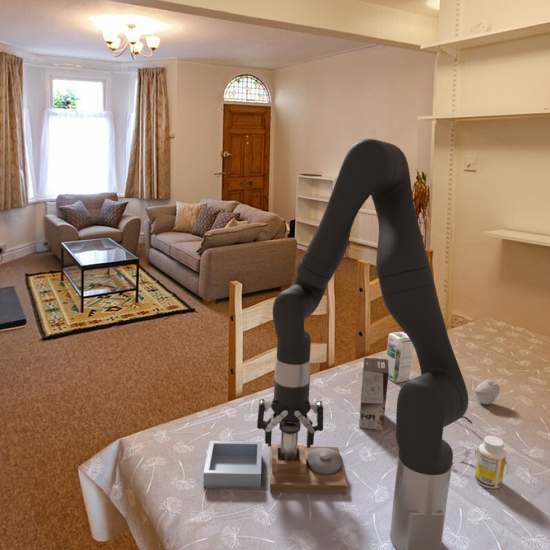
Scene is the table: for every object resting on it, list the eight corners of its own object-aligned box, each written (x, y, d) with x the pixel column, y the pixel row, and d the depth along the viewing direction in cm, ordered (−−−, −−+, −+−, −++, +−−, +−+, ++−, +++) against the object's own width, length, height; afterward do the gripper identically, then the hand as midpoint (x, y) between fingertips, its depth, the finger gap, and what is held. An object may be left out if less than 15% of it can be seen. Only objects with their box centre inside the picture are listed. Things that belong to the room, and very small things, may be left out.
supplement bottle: (493, 473, 117) (499, 433, 115) (506, 489, 112) (513, 447, 109) (469, 474, 117) (475, 433, 114) (481, 490, 111) (488, 448, 109)
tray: (260, 488, 110) (260, 474, 109) (203, 487, 110) (203, 472, 109) (261, 455, 121) (261, 441, 120) (209, 454, 121) (209, 440, 120)
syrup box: (383, 376, 165) (387, 333, 161) (398, 373, 167) (402, 330, 164) (394, 383, 160) (399, 339, 156) (410, 380, 162) (414, 337, 159)
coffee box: (383, 431, 133) (389, 373, 129) (358, 427, 135) (362, 370, 130) (383, 413, 142) (388, 358, 138) (359, 410, 143) (364, 356, 139)
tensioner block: (346, 493, 109) (347, 474, 108) (270, 492, 109) (270, 473, 108) (337, 454, 123) (339, 437, 121) (270, 453, 122) (270, 435, 121)
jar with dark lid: (299, 470, 113) (301, 428, 110) (278, 470, 113) (279, 428, 110) (298, 458, 117) (300, 417, 115) (277, 457, 117) (279, 417, 115)
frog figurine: (502, 406, 148) (506, 383, 146) (483, 410, 146) (486, 387, 144) (487, 396, 154) (490, 374, 152) (468, 400, 151) (471, 378, 149)
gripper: (258, 384, 106) (256, 454, 111) (327, 386, 107) (322, 456, 111) (259, 368, 114) (257, 434, 118) (324, 371, 114) (319, 436, 118)
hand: (289, 445), depth 114 cm, fingers open, 8 cm apart
